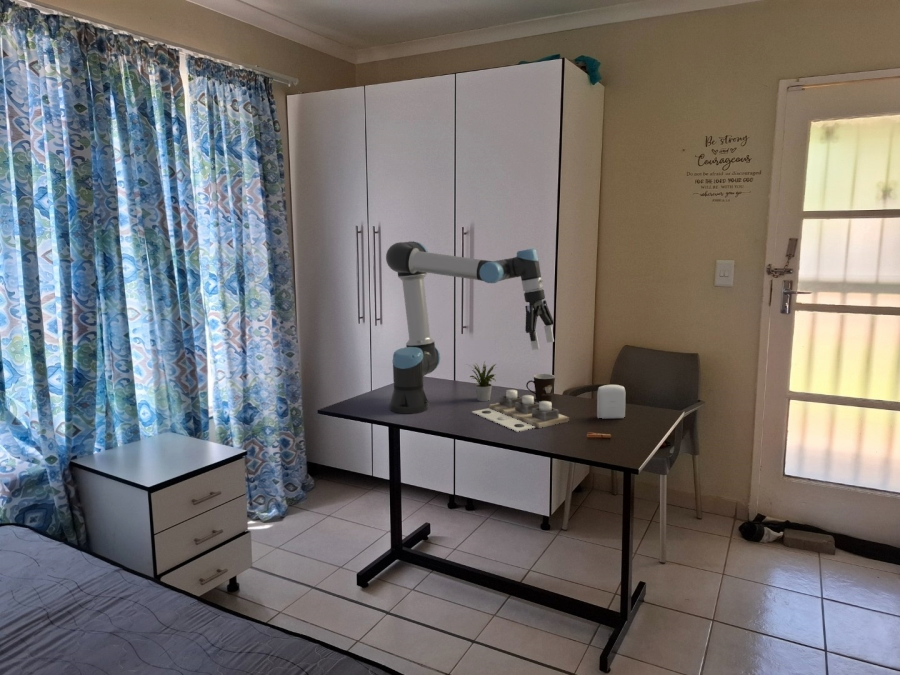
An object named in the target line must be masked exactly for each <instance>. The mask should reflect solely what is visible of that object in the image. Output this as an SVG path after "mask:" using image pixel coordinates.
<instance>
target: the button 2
mask: <svg viewBox="0 0 900 675" xmlns="http://www.w3.org/2000/svg"><path fill="white" fill-rule="evenodd" d="M538 403H539V410H540V411H542V412H548V411H552V408H553V407H552V405H553V404H552V401H551V402H549V401H541V402H538Z"/></svg>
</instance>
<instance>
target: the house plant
mask: <svg viewBox="0 0 900 675" xmlns="http://www.w3.org/2000/svg"><path fill="white" fill-rule="evenodd" d="M485 363H486V361H483V366H482V372H481V370H480V367H479V365H478V363H475V362H474V364H472V365H473V366H472V367H473V368H474V369H472V370H471V371H472V372H473V373H474V374H475V375H476V376H475V375H470V376H469V378H471V380H472V379H473V380H474V379H475V380H476V384H474V387H475V388H474V389H475V393H476V395H475V396H476V400H477V401H478V400H479V402H488V400H489V401H490V400H491V394H492V388H493V384H492V380H493V381H494V382H496V379H495V376H496V374H494V373H492V371H493V370H494V367H495V366H496V365H497V363H494V364H493V365H492V366H490V368H489V369H488V370H487V365H486V364H485ZM475 364H476V365H475ZM464 365H467V366H469V367H471V365H470V364H465V363H464ZM496 368H498V367H495V369H496Z"/></svg>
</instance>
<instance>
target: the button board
mask: <svg viewBox="0 0 900 675" xmlns="http://www.w3.org/2000/svg"><path fill="white" fill-rule="evenodd" d="M489 408H491V409H493V410H496V411H498V412H501V413H503V414H506V415H508V416H510V417H513V418H515V419H518V420H520V421H523V422H525V423H528V424H530V425H533V426H535V428H538V429H542V427H543V428H546V427H551V426H555V424H556V425H560V424H564V423H568V421H569V422H570V417H569V416H566V415H563V414H561V413H560V410H559V409H557V408H554V407H552V411H548V412H542V411H540V410H539V402H538V401H534V404H533V405H529V406H526V405H523V404H522V396H520V395H517V399H512V400H510V399H507V398H506V395H501V396H499V400H498V402H496V403H490V404H489ZM559 423H560V424H559Z"/></svg>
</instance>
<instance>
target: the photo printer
mask: <svg viewBox="0 0 900 675" xmlns="http://www.w3.org/2000/svg"><path fill="white" fill-rule="evenodd" d="M596 394H597V395H596V396H597V397H596V398H597V400H596V405H597V406H596V417H597V419H599V418H602V419H625V418H624V417H626V395H627V394H626V389H625V387H624V386H623V385H619V384H606V385H601V386H599V387H598V388H597V393H596Z"/></svg>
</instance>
